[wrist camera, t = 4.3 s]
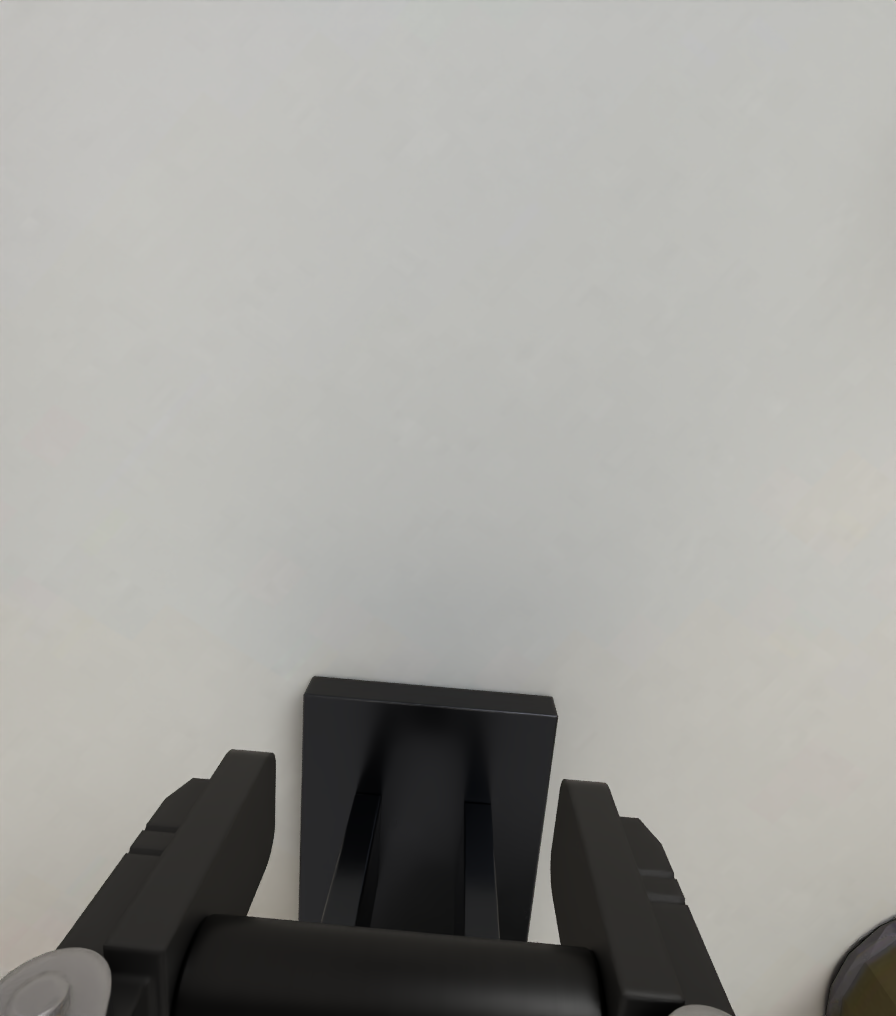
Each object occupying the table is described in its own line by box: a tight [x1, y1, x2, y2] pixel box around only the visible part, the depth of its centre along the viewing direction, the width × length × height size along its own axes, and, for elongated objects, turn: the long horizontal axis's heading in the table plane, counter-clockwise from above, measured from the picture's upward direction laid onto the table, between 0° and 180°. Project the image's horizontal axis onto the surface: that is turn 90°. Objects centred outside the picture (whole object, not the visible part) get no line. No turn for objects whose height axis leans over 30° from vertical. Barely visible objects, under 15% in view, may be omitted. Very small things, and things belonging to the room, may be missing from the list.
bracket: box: [299, 676, 558, 942], centre depth 16 cm, size 12×9×13 cm
